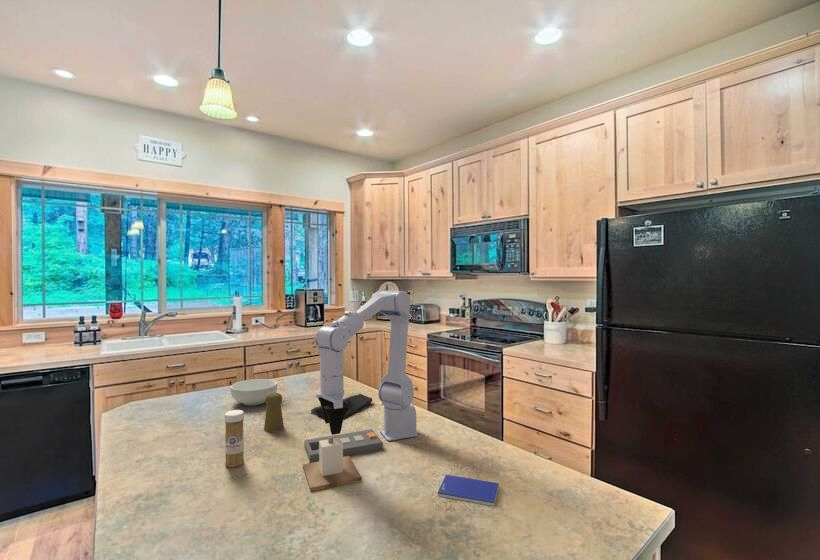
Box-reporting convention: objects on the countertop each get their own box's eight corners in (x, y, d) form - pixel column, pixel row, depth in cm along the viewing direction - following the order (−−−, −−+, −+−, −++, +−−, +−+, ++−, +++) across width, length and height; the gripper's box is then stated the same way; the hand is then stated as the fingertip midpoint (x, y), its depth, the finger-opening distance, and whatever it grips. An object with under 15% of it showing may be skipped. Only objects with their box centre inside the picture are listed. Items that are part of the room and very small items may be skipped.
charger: (339, 464, 101) (338, 433, 101) (342, 472, 98) (342, 439, 97) (319, 468, 99) (319, 436, 99) (322, 476, 96) (322, 443, 95)
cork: (277, 432, 124) (277, 397, 124) (260, 431, 125) (259, 396, 125) (287, 425, 130) (287, 391, 130) (270, 424, 131) (270, 390, 131)
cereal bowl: (268, 409, 145) (267, 390, 144) (222, 409, 145) (222, 390, 145) (283, 395, 162) (283, 378, 161) (242, 395, 162) (242, 378, 162)
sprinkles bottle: (225, 469, 101) (224, 416, 101) (225, 461, 105) (224, 410, 105) (244, 465, 103) (244, 413, 102) (244, 458, 107) (243, 408, 107)
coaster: (349, 458, 106) (349, 455, 106) (361, 480, 95) (361, 477, 95) (303, 467, 102) (302, 464, 102) (310, 491, 91) (310, 487, 91)
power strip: (372, 435, 121) (372, 427, 121) (382, 449, 112) (382, 440, 112) (304, 447, 113) (304, 438, 113) (309, 462, 104) (309, 452, 104)
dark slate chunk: (379, 405, 150) (379, 393, 150) (336, 424, 132) (335, 409, 132) (349, 398, 159) (349, 386, 159) (305, 414, 141) (305, 401, 141)
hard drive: (437, 491, 89) (494, 501, 85) (446, 473, 96) (498, 481, 92) (437, 498, 89) (494, 508, 85) (446, 480, 96) (498, 488, 92)
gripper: (311, 369, 106) (311, 420, 106) (321, 383, 92) (321, 442, 93) (337, 366, 108) (338, 416, 109) (351, 380, 95) (351, 436, 95)
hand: (332, 428), depth 101 cm, fingers open, 7 cm apart
